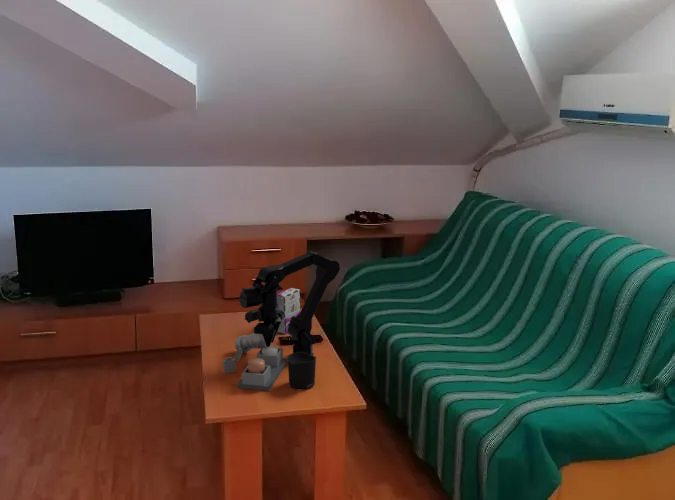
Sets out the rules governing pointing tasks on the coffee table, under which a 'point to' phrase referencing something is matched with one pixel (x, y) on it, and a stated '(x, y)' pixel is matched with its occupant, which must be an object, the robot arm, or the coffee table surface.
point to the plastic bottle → (250, 342)
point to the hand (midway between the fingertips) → (269, 344)
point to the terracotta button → (256, 366)
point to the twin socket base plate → (270, 375)
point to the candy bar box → (288, 307)
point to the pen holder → (301, 370)
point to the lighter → (231, 362)
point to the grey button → (270, 350)
